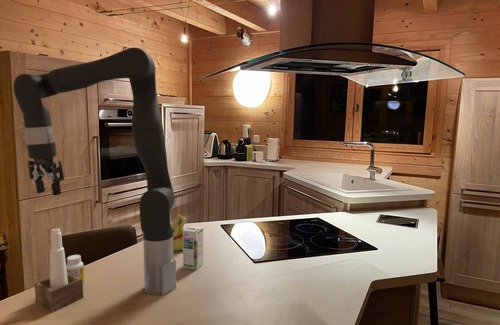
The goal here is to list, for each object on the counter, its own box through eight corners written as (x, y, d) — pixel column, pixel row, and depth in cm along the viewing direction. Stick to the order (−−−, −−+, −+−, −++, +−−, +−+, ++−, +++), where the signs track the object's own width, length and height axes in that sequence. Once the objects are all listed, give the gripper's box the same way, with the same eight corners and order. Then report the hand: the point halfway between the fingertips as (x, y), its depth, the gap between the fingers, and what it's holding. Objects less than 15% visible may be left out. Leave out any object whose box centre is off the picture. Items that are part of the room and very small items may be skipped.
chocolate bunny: (164, 249, 148) (163, 214, 146) (190, 245, 152) (189, 211, 150) (168, 255, 142) (167, 219, 140) (194, 251, 146) (194, 215, 144)
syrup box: (182, 268, 130) (181, 229, 128) (190, 261, 135) (190, 225, 133) (196, 270, 128) (195, 231, 126) (203, 264, 133) (203, 227, 132)
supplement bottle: (79, 280, 119) (78, 252, 118) (87, 285, 116) (86, 256, 115) (63, 285, 115) (61, 257, 114) (70, 291, 112) (69, 261, 111)
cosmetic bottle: (49, 307, 102) (45, 234, 99) (47, 298, 107) (42, 228, 104) (72, 301, 106) (69, 230, 103) (69, 293, 110) (65, 225, 108)
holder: (83, 297, 108) (82, 279, 107) (53, 311, 100) (52, 291, 99) (65, 289, 113) (64, 271, 112) (35, 302, 105) (34, 283, 104)
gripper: (66, 140, 107) (74, 192, 110) (39, 140, 114) (47, 189, 117) (41, 143, 100) (50, 198, 103) (15, 143, 108) (23, 194, 110)
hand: (48, 193), depth 110 cm, fingers open, 8 cm apart
